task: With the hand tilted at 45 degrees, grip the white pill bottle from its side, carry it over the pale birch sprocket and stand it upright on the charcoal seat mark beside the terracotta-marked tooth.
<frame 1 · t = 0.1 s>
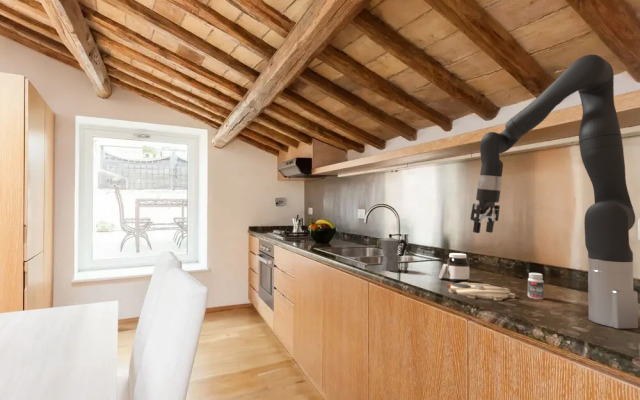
hand: (482, 232, 119), 22 cm above the table, tool pointing down, fingers open, 8 cm apart
spread jar: (452, 281, 141), on the table
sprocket: (479, 292, 121), on the table
pill bottle: (535, 298, 115), on the table
coffeepot: (392, 270, 164), on the table
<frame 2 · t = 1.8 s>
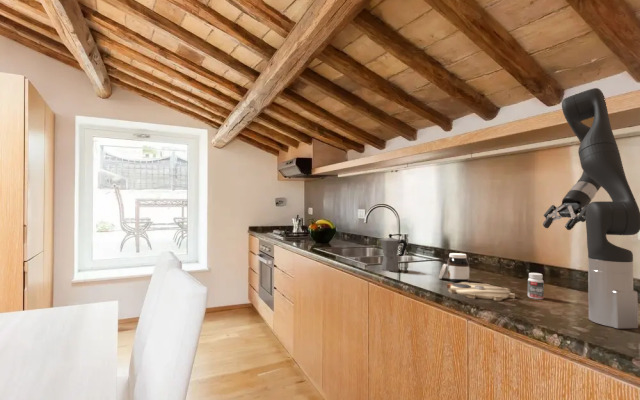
hand: (555, 227, 118), 25 cm above the table, tool tilted 45°, fingers open, 8 cm apart
nothing on the table moved.
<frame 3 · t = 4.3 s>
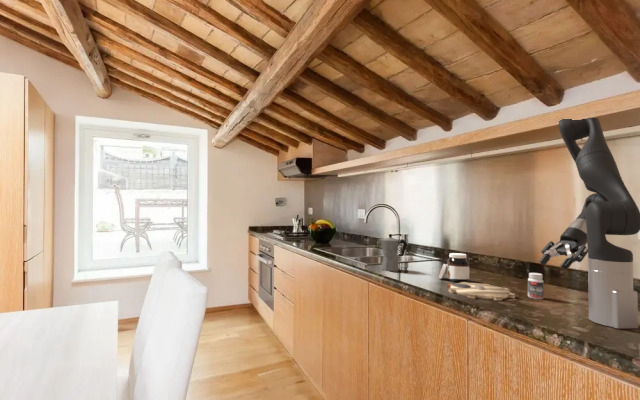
hand: (551, 265, 116), 11 cm above the table, tool tilted 45°, fingers open, 8 cm apart
nothing on the table moved.
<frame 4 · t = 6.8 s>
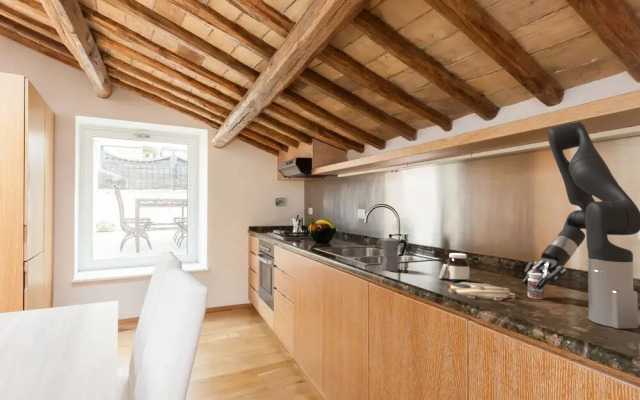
hand: (531, 285, 114), 4 cm above the table, tool tilted 45°, fingers closed on pill bottle, 4 cm apart
pill bottle: (535, 298, 115), on the table, touching gripper
everything else where it was.
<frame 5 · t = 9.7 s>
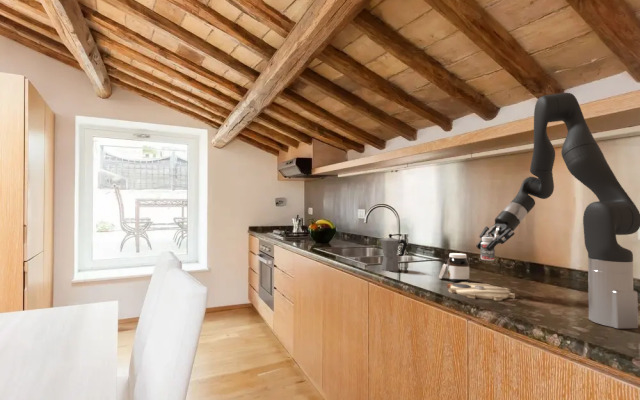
hand: (483, 248, 122), 16 cm above the table, tool tilted 45°, fingers closed on pill bottle, 4 cm apart
pill bottle: (487, 260, 123), point 12 cm above the table, touching gripper
everything else where it was.
when the fingers open (7 cm above the table, at t = 12.5 s): pill bottle drops 1 cm, resting on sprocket.
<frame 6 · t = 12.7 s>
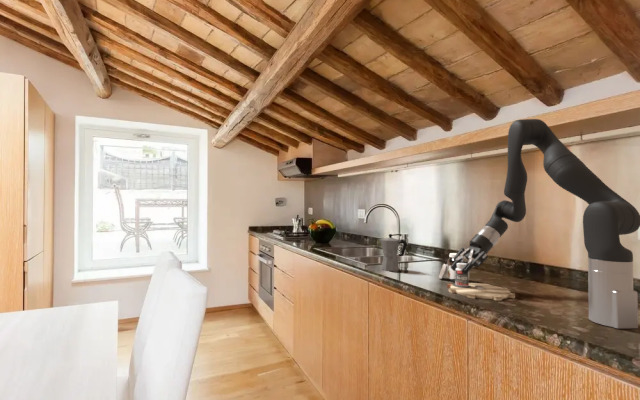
hand: (457, 270, 125), 7 cm above the table, tool tilted 45°, fingers open, 6 cm apart
pill bottle: (462, 285, 125), point 1 cm above the table, touching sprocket
everything else where it was.
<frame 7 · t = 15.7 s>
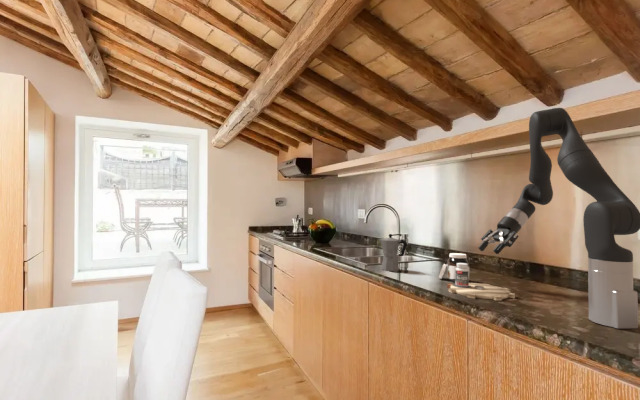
hand: (487, 251, 128), 15 cm above the table, tool tilted 45°, fingers open, 8 cm apart
nothing on the table moved.
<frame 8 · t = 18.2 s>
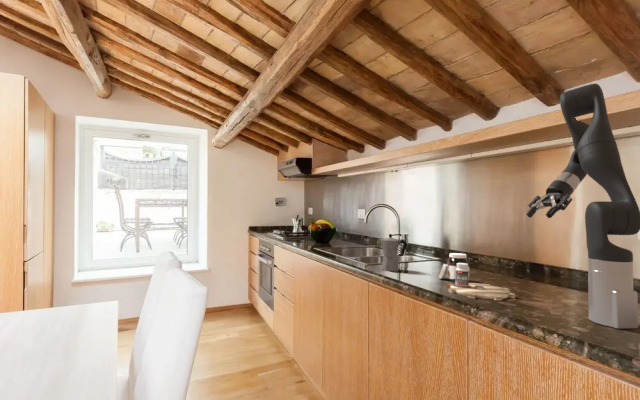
hand: (537, 216, 122), 29 cm above the table, tool tilted 45°, fingers open, 8 cm apart
nothing on the table moved.
at the end: pill bottle 0.3 cm from the target spot on the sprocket, point 1.2 cm above the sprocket's base; pill bottle tilted 0°; the gripper is holding nothing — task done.
